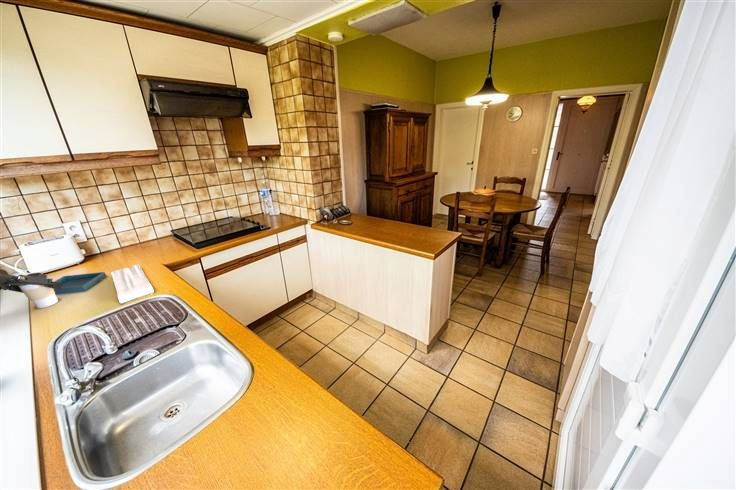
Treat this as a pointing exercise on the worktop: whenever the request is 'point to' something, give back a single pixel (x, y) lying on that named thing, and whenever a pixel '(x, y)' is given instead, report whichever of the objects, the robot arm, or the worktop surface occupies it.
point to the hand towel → (131, 283)
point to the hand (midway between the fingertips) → (44, 288)
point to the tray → (79, 282)
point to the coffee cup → (39, 293)
